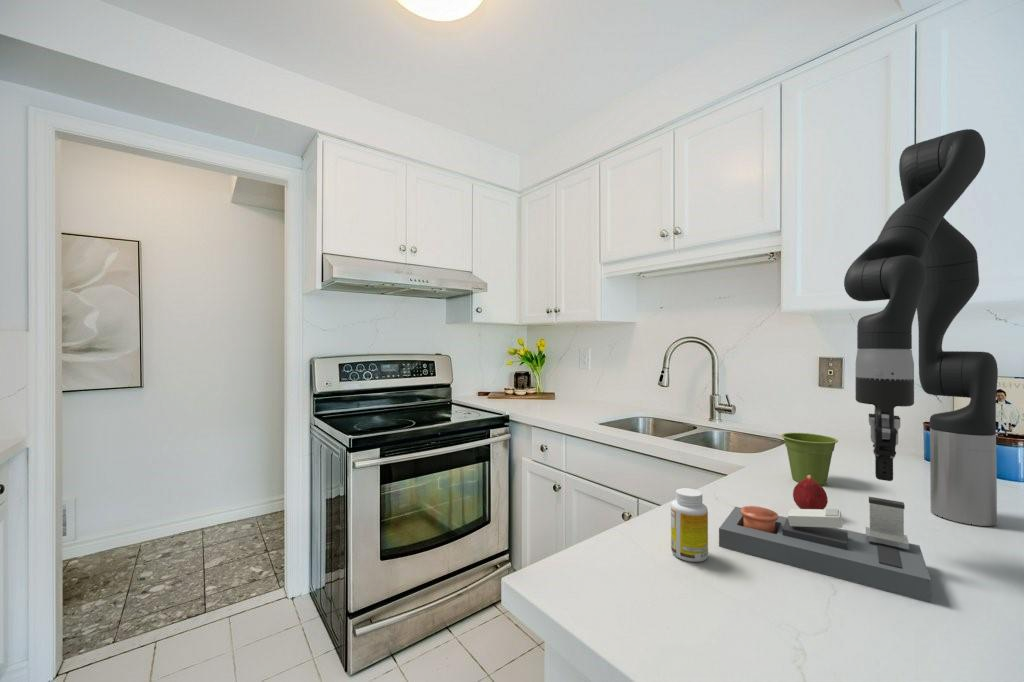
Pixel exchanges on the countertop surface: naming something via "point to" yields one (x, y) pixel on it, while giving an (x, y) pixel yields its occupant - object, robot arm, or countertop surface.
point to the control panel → (833, 554)
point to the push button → (759, 518)
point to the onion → (810, 494)
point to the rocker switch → (815, 518)
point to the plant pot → (809, 455)
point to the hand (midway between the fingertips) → (884, 479)
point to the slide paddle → (887, 523)
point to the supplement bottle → (689, 526)
